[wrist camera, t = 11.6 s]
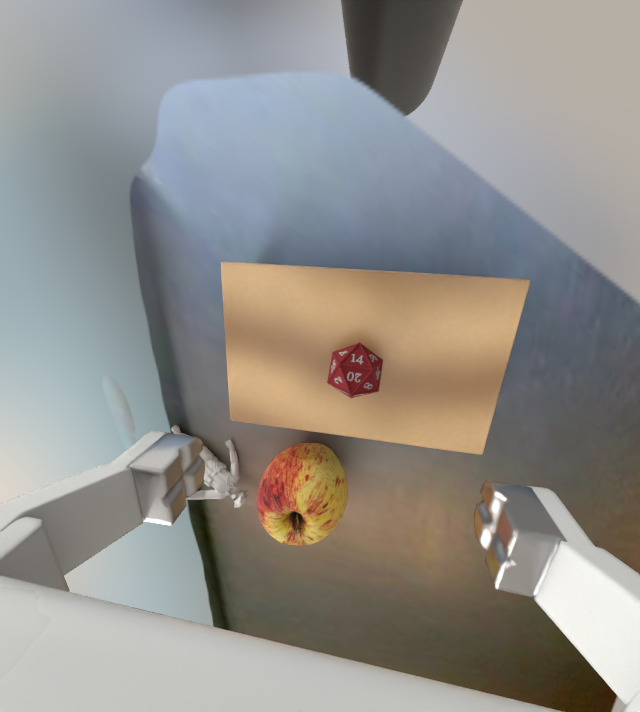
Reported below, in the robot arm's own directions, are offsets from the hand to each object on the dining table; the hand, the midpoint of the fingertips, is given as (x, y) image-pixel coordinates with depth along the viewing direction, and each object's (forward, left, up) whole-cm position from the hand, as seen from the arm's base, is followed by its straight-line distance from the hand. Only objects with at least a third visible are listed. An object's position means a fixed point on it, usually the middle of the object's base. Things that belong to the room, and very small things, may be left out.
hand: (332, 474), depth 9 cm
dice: (+2, 0, -16) cm, 16 cm away
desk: (+2, 0, -22) cm, 22 cm away
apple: (+17, -4, -22) cm, 28 cm away
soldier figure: (+19, -17, -22) cm, 34 cm away
